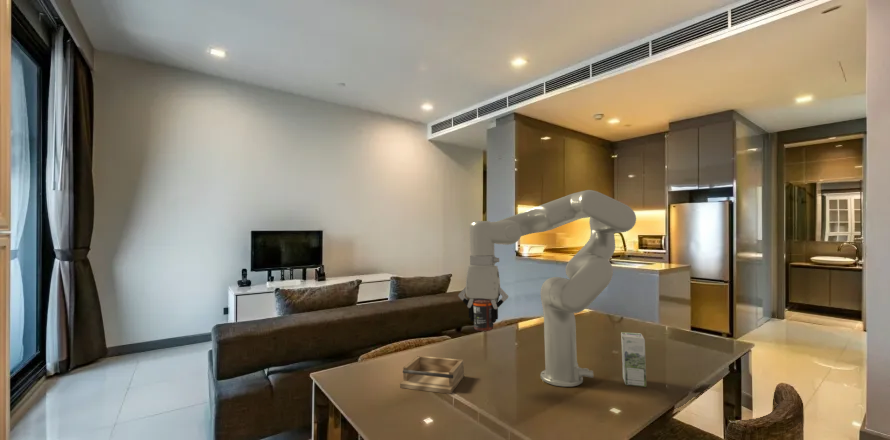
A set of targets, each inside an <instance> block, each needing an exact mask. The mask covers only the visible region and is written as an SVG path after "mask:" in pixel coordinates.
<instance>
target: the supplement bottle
mask: <svg viewBox="0 0 890 440" xmlns="http://www.w3.org/2000/svg"><path fill="white" fill-rule="evenodd" d="M492 309H493V305H492V303H491V300H487V299H474V301H473V311H474V321H473V329H474V330H475V331H478V332H479V331H480V332H491V331H492V330H494V323H493V322H492Z"/></svg>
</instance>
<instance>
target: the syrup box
mask: <svg viewBox="0 0 890 440" xmlns="http://www.w3.org/2000/svg"><path fill="white" fill-rule="evenodd" d="M620 336H621V338H620V340H621V361H622V363H621V364H622V365H621V366H622V379H623V382H624V384H625V386H633V387H643V388H647V369H646V368H647V366H646V363H647V362H646V339H645V338H644V337H645V336H644V335H643V334H642V333H638V332H622V331H621V333H620Z"/></svg>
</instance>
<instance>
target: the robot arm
mask: <svg viewBox="0 0 890 440" xmlns="http://www.w3.org/2000/svg"><path fill="white" fill-rule="evenodd" d="M585 218H589V229H590V237H589V239H588V241H586V243H585V245H584V246H582V247H581V249H579V251H577V253H576V254H574V255H573V257H571V258H570V260H569V261H568V262H567V264H566V266H565V274H566V276H567V278H565V277H561V276H560V277H558V276H553V277H549V278H547V279H546V280H545V281H544V282H543V283H542V285H541V288H540V301H541V305H542V312H543V313H542V314H543V326H544V327H543V336H544V365H545V366H544V367H545V369H544V370H542V371H541V372H540V379H541V380H542V381H544V382H545V383H547V384H550V385H552V386H557V387H563V388H564V387H565V388H567V387H568V388H569V387H576V386H579V385H581V384H583V382H584V377H587V378H594V370H589V368H586V367H584V368H582V367H581V366H579V363H578V356H577V355H578V354H577V332H576V331H577V327H576V326H577V325H576V317H575V314H577V313H581V312H583V311H584V310H586V309H587V308H588V307H589V306H590V305H591V304H592V303H594V301H595V300H596V299H597V298H598V297H599V295H601V294H602V292H603V291H604V290H605V289H607V287H608V286H609V285H610V284H611V283H610V282H611V281H612V278H613V275H614V274H613V273H614V269H613V265H612V263H611V261H609V260H610V259H611V258H612V256H614V253H615V249H616V240H615V238H616V237H615V233H616V234H617V233H626V232H629V231H631V230H632V229H633V228H634V227H635V226H636V223H637V222H636V221H637V216H636V212H635V211H634V210H633V209H632V207H630V206H629V205H627V204H626V203H624V202H621V201H619V200H617V199H614V198H613V197H610V196H608V195H606V194H604V193H603V192H602V193H601V192H599V191H597V190H592V189H586V190H581V191H578V192H573V193H570V194H567V195H566V196H562V197H560V198H557V199H554V200H550V201H548V202H546V203H543V204H540V205H537V206H534V207H532V208H530V209H527V210H525V211H523V212H520V213H517V214H514V215H511V216H509V217H506V218H503V219H500V220H497V221H489V220H478V221H477V220H476V221H473V222H470V224H469V230H468V231H469V265H468V266H467V271H466V277H465V278H466V279H465V287H464V288H463V289H462V290H461V291H460V292H459V293H458V295H457V296H458V297H459V299H460V300H461V301H462V302H463V303H464V304H465V305H466V306H467V308H468V318H469V319H470V320H469V321H470V322H474V311H473V301H474V299H487V300H491V303H492V305H493V309H492V322H493V324H495V323H496V322H497V320H498V319H499V308H500V306H502V304H503V303H504V302H505V301H507V299H509V295H508V294H507V293H506V292H505V290H503V288H502V287H501V280H500V272H499V266H498V265H496V263H499V262H500V257H497V256H496V255H495V245H505V246H508V245H513V244H516V243H517V242H518V241H519V240H520V239H521V237H523V236H527V235H531V234H538V233H539V234H540V233H544V232H548V231H551V230H554V229H557V228H560V227H562V226H564V225H566V224H567V225H568V224H570V223H572V222H575V221H578V220H581V219H585ZM500 296H501V298H500V299H499V300H498V298H499V297H500Z"/></svg>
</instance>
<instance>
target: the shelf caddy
mask: <svg viewBox="0 0 890 440" xmlns="http://www.w3.org/2000/svg"><path fill="white" fill-rule="evenodd" d="M402 369H403V370H402V373H403V380H402V381H401V382H400V383H399V387H400V389H401V388H402V389H410V390H415V391H416V390H417V391H422V392H423V391H426V392H433V393H441V394H446V395H447V394H448V395H451V394H452V393H453V392H454V390H455V389H456V388H457V386H458V385H459V383H460V382H461V381H462V380H463V378H464V376H465V373H464V372H465V366H464V359H458V358H457V359H456V358H448V357H447V358H446V357H437V356H436V357H435V356H425V355H417V356H415V358H413V359H412V360H411V361H409V362H408V363H407V364H405V365H404V366H403V368H402Z"/></svg>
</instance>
